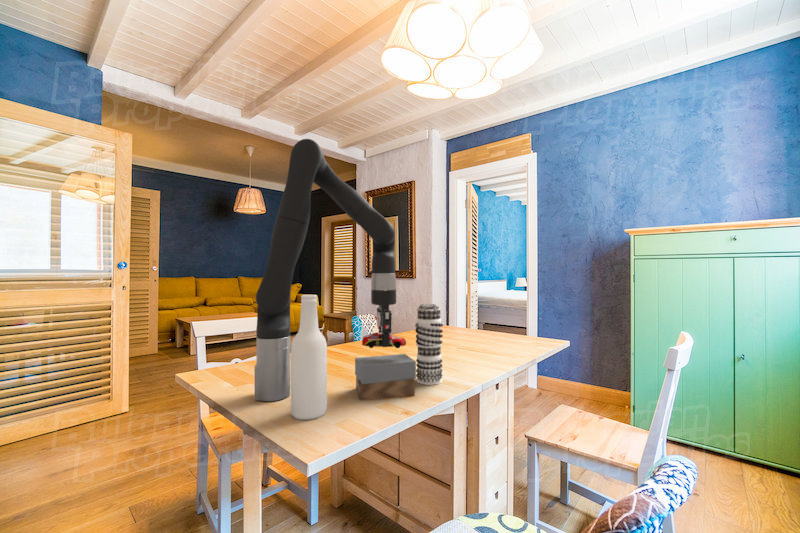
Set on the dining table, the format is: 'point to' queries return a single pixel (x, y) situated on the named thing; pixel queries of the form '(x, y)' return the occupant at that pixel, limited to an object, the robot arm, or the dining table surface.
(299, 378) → the white bottle
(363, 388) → the bottom block
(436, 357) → the decorative candle
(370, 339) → the race car
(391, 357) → the top block
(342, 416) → the dining table surface
